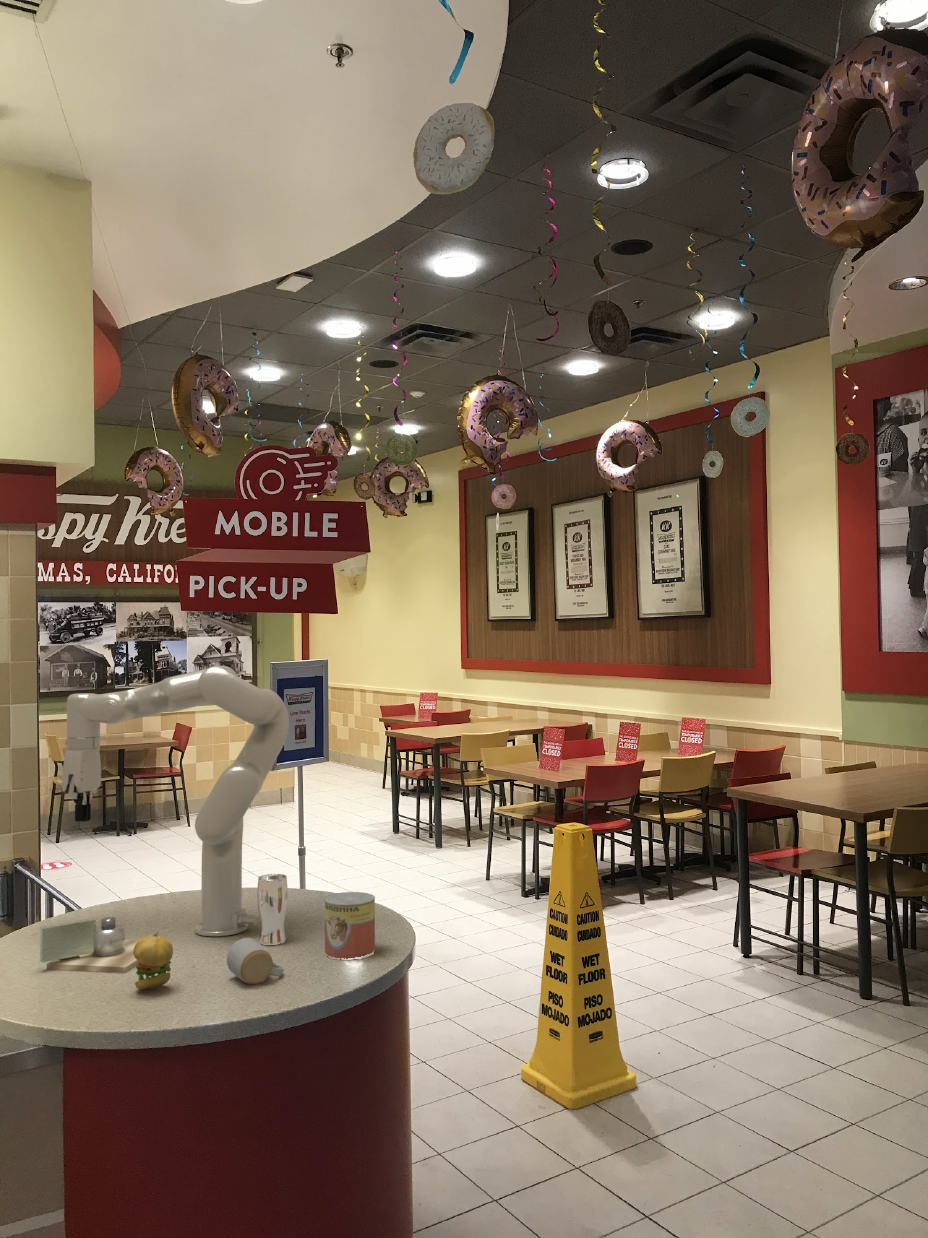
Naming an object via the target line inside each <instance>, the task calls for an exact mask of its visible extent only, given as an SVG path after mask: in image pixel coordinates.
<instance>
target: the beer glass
mask: <svg viewBox="0 0 928 1238" xmlns="http://www.w3.org/2000/svg"><path fill="white" fill-rule="evenodd" d="M288 887H289V886H288V878H287V875H286V874H284V873H270V874H269V873H268V874H262V875H259V876H258V878H257V890H256V898H257V900H256V901H257V909H258V910H257V911H258V915H259V920H260V933H259V934H260V935H259V941H258V943H259V944H260V945H261V944H263V945H262V946H264V945H274V944H280V943H283V942H284V941H287V938H286V934H285V932H286V931H285V919H286V913H287V907H288V901H289V900H288V898H289V891H288V890H289V888H288ZM283 944H284V943H283Z"/></svg>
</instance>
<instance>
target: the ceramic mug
mask: <svg viewBox="0 0 928 1238" xmlns="http://www.w3.org/2000/svg"><path fill="white" fill-rule="evenodd" d="M227 952H228V953H227V955H226V965H227V969H228V970H229V971H230V972H231V973H232V974H233V975H235V976H236V977H237V978H238V979H240V980H241V981H243V983H246V984H248V985H259V984H261V983H263V982H264V981H266V980H267V979H268V978H269V977H270V976H273V977H276V978H277V977H282V975H283V972H284V968H283V967H282V966H281V965H279V964H278V963H276V962H273V958H272V956H271V954H270V952H269V950H267V949H266V948H265V947H264V946H263V945H261V944H260V943H259V941H257V940H256V939H254V938H251V937H244V938H241V939H238V940H236V941H235V942H234V943H233V944H232V945H231V947H230V948H229V950H228V951H227Z"/></svg>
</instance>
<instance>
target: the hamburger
mask: <svg viewBox="0 0 928 1238" xmlns="http://www.w3.org/2000/svg"><path fill="white" fill-rule="evenodd" d="M137 941H138V942H137V943H136V945H135V947H134V953H133V954H134V957H135V959H137V960H138V961H139V962H138V963H137V964H138V965H136V966H135V969H137V970H136V971H135V974H136V975H137V976H138V981H135V982H134V985H135V987H136V989H137V990H140V991H148V990H153V989H156V988H159V987H162V986H163V985H165V984H167V983H168V982H169V980H170V979H171V971H172V968H171V965H170V964H172V962H171V960H172V958H173V954H174V947H173V944H172V943H171V941H170V939H168V938H166V937H165V936H163V935H160V934H159V931H157V932H155V933H153V934H147V935H145V936H143V937H141V938H140V939H139V940H137ZM144 976H145V978H144Z"/></svg>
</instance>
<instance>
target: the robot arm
mask: <svg viewBox="0 0 928 1238" xmlns="http://www.w3.org/2000/svg"><path fill="white" fill-rule="evenodd" d="M66 700H67V701H66V751H65V754H64V760H63V766H62V767H63V768H62V777H61V779H62V780H61V790H62V792H63V793H65V794H67V793H68V794H67V795H68V796H67V797H68V799H69V800H73V805H74V821H75V822H88V821H89V822H90V821H91V819H92V813H91V812H92V811H91V810H92V807H91V806H92V803H93V797H94V795H95V794H97V793H98V789H99V788H100V787H101V783H102V763H101V755H100V750H101V723H102V724H108V725H109V724H112V725H113V724H119V723H123V722H127V721H131V720H136V719H140V718H143V717H148V716H152V715H157V714H161V713H175V712H179V711H183V710H187V709H191V708H196V707H201V706H205V705H207V704H209V705H210V704H213V705H215V706H217V707H218V708H221V709H222V710H223V711H226V712H228V713H229V714H231V715H233V716H234V717H236V718H239V720H242V721H244V722H246V723H248V724H251V725H254V726H253V728H252V731H251V733H250V735H249V737H247V740H246V741H245V743H244V745H243V747H242V748H241V750H240V752H239V754H238V755H237V757H236V759H235V760H234V762H232V763H231V764H230V765H229V766H228V767H227V768H225V769H224V770H223V771H222V773H221V774H220V776H219V777H218V779H217V781H216V782H215V784H214V786H213V788H212V790H211V791H210V793H209V795H208V796H207V798H206V800H205V801H204V802H203V805H202V806H201V808H200V809H199V811H198V813H197V815H196V818H195V821H194V830H195V833H196V835H197V837H198V839H199V840H200V841H202V843H201V844H202V845H201V903H200V904H201V907H200V908H201V911H200V912H201V913H200V915H201V916H200V919H201V921H200V922H199V923H197V924H196V925H195V926H194V933H195V934H196V935H199V936H203V937H226V936H233V935H237V934H241V933H243V932H244V931H246V930H248V928H249V925H252V926H253V925H257V923H258V916H257V915H256V914H247V912H246V910H247V909H246V907H245V908H243V904H242V903H243V902H242V901H243V899H242V898H243V897H242V896H243V895H242V894H243V891H242V890H243V889H242V888H243V887H242V884H243V879H242V877H243V876H242V875H243V873H242V872H243V871H242V870H243V869H242V868H243V833H244V816H245V814H246V813H247V811H248V809H249V807H250V806H251V804H252V802H253V801H254V799H255V798H256V796H257V795H258V794H259V793H260V791H261V790H262V787H263V785H264V782H265V780H266V778H267V776H268V774H269V772H270V771H271V770H272V768H273V766H274V764H275V762H276V760H277V758H278V756H279V754H280V752H281V751H282V749H283V747H284V745H285V743H286V740H287V737H288V734H289V728H290V716H289V712H288V709H287V707H286V704H285V702H284V701H283V699H282V698H281V697H280V696H279V694H278V693H276V692H275V691H273V690H272V689H269V688H259V687H257V686H256V685H254V684H252V683H251V682H248V681H247V680H244V679H243V678H241V677H239V676H238V675H237V673H236V671H235V670H234V669H233V668H231V667H229V666H226V665H213V666H209V667H208V668H203V669H201V670H200V669H199V670H195V671H192V672H188V673H187V672H186V673H184V674H183V673H182V674H178V675H173V676H169V677H166V678H164V679H162V680H161V681H159V682H155V683H153V684H149V685H145V686H142V687H135V688H132V689H127V690H121V691H114V692H108V693H106V692H105V693H102V694H101V693H100V694H99V693H98V694H97V693H92V692H91V693H90V692H89V693H86V692H85V693H84V692H83V693H81V692H80V693H72V694H69V696H68V697H67V698H66Z"/></svg>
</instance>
